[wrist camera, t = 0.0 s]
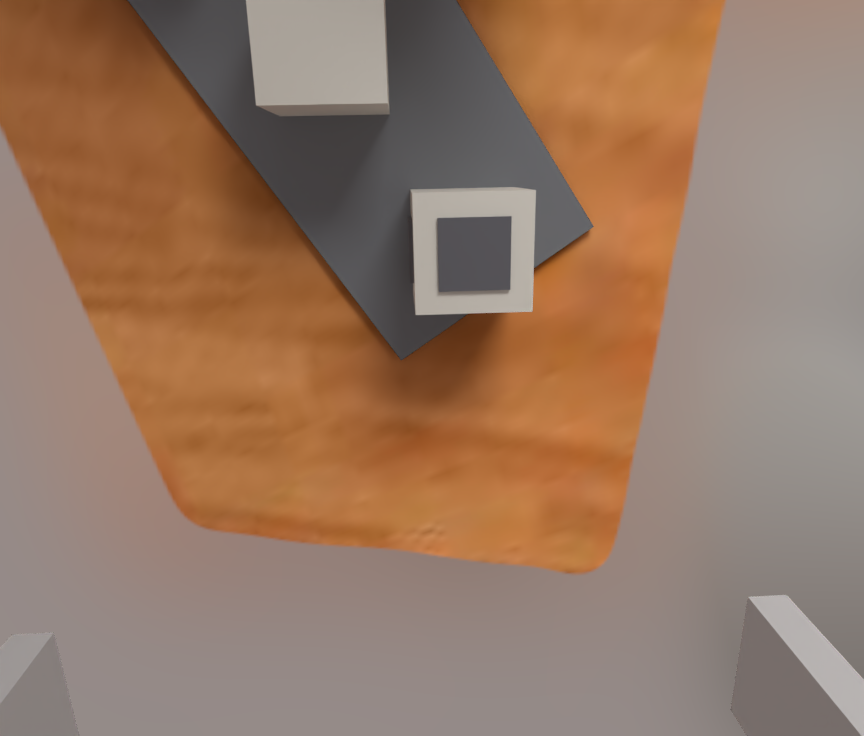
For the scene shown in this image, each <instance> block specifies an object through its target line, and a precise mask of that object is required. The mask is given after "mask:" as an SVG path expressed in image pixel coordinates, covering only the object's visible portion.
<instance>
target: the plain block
mask: <svg viewBox="0 0 864 736" xmlns="http://www.w3.org/2000/svg"><path fill="white" fill-rule="evenodd" d="M246 7H247V17H248V27H249V37H250V48H251V58H252V68H253V79H254V89H255V99H256V106H258V107H260V108H263V109H265V110H267V111H269V112H271V113H274V114H276V115H278V116H329V115H385V114H390V110H389V83H388V57H387V30H386V4H385V0H246Z"/></svg>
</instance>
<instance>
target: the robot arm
mask: <svg viewBox="0 0 864 736" xmlns="http://www.w3.org/2000/svg"><path fill="white" fill-rule="evenodd" d="M731 711H732V713H733V714H734V716H735V717H736V719H737V721H738V722H739V724H740V726H741V727H742V729H743V730H744V732H745V734H746V735H747V736H864V679H863V678H862V677H861V676H860V675H859V674H858V673H857V672H856V670H854V668H853V667H852V666H851V665H850V664H849V663H848V662H847V661H846V660H845V659H844V657H843V656H842V655H841V654H840V653H839V652H838V651H837V650H836V649H835V647H834V646H833V645H832V644H831V643H830V642H829V641H828V640H827V639H826V638H825V637H824V635H822V633H821V632H820V631H819V630H818V629H817V628H816V627H815V626H814V625H813V623H812V622H811V621H810V620H809V619H808V618H807V617H806V616H805V615H804V614H803V612H802V611H801V610H800V609H799V608H798V607H797V606H796V605H795V604H794V603H793V601H792V600H791V599H790V598H789V597H788V596H787V595H776V596H758V597H757V596H756V597H748V600H747V606H746V613H745V619H744V626H743V632H742V639H741V645H740V652H739V658H738V665H737V671H736V677H735V685H734V690H733V697H732V703H731ZM0 736H79V733H78V729H77V724H76V720H75V717H74V712H73V709H72V704H71V700H70V696H69V692H68V688H67V684H66V680H65V676H64V672H63V668H62V664H61V659H60V655H59V652H58V647H57V643H56V639H55V635H54V633H34V634H14V635H11V636H10V637H9V638H8V639H7V641H6V642H5V643H4V644H3V645H2V647H1V648H0Z"/></svg>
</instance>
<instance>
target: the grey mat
mask: <svg viewBox="0 0 864 736" xmlns="http://www.w3.org/2000/svg"><path fill="white" fill-rule="evenodd" d="M128 1H129V3H130V4H131V5H132V7H133V8H134V9H135V11H136V12H137V13H138V15H139V16H140V17H141V18H142V20H143V21H144V22H145V24H146V25H147V26H148V28H149V29H150V30H151V32H152V33H153V34H154V36H155V37H156V38H157V40H158V41H159V42H160V43H161V45H162V46H163V47H164V49H165V50H166V51H167V53H168V54H169V55H170V57H171V58H172V59H173V61H174V62H175V63H176V65H177V66H178V67H179V68H180V70H181V71H182V72H183V74H184V75H185V76H186V78H187V79H188V80H189V82H190V83H191V84H192V86H193V87H194V88H195V90H196V91H197V92H198V93H199V95H200V96H201V97H202V99H203V100H204V101H205V103H206V104H207V105H208V107H209V108H210V109H211V111H212V112H213V113H214V115H215V116H216V117H217V118H218V120H219V121H220V122H221V124H222V125H223V126H224V128H225V129H226V130H227V132H228V133H229V134H230V136H231V137H232V138H233V140H234V141H235V142H236V143H237V145H238V146H239V147H240V149H241V150H242V151H243V153H244V154H245V155H246V157H247V158H248V159H249V161H250V162H251V163H252V165H253V166H254V167H255V168H256V170H257V171H258V172H259V174H260V175H261V176H262V178H263V179H264V180H265V182H266V183H267V184H268V186H269V187H270V188H271V190H272V191H273V192H274V193H275V195H276V196H277V197H278V199H279V200H280V201H281V203H282V204H283V205H284V207H285V208H286V209H287V211H288V212H289V213H290V215H291V216H292V217H293V218H294V220H295V221H296V222H297V224H298V225H299V226H300V228H301V229H302V230H303V232H304V233H305V234H306V236H307V237H308V238H309V240H310V241H311V242H312V243H313V245H314V246H315V247H316V249H317V250H318V251H319V253H320V254H321V255H322V257H323V258H324V259H325V261H326V262H327V263H328V265H329V266H330V267H331V268H332V270H333V271H334V272H335V274H336V275H337V276H338V278H339V279H340V280H341V282H342V283H343V284H344V286H345V287H346V288H347V290H348V291H349V292H350V293H351V295H352V296H353V297H354V299H355V300H356V301H357V303H358V304H359V305H360V307H361V308H362V309H363V311H364V312H365V313H366V315H367V316H368V317H369V318H370V320H371V321H372V322H373V324H374V325H375V326H376V328H377V329H378V330H379V332H380V333H381V334H382V336H383V337H384V338H385V340H386V341H387V342H388V343H389V345H390V346H391V347H392V349H393V350H394V351H395V353H396V354H397V355H398V357H399V358H400V359H401V360H403V359H404V358H405V357H407V356H408V355H410V354H411V353H413V352H414V351H416V350H417V349H418V348H420V347H421V346H423V345H424V344H426V343H427V342H428V341H430V340H431V339H433V338H434V337H436V336H437V335H439V334H440V333H441V332H443V331H444V330H446V329H447V328H449V327H450V326H451V325H453V324H454V323H456V322H457V321H459V320H460V319H462V318H463V317H464V316H466V315H467V314H438V315H416V314H415V305H414V296H413V283H410V274H409V243H408V216H411V204H410V189H448V188H492V187H518V188H525V189H532V190H536V206H535V242H534V268H535V267H536V266H538V265H539V264H541V263H542V262H543V261H545V260H546V259H548V258H549V257H551V256H552V255H554V254H555V253H556V252H558V251H559V250H561V249H562V248H564V247H565V246H566V245H568V244H569V243H571V242H572V241H574V240H575V239H577V238H578V237H579V236H581V235H582V234H584V233H585V232H587V231H588V230H589V229H591V228H592V227H594V226H593V225H592V223H591V222H590V220H589V218H588V217H587V215H586V213H585V212H584V210H583V208H582V207H581V205H580V203H579V202H578V200H577V198H576V197H575V195H574V194H573V192H572V190H571V189H570V187H569V185H568V184H567V182H566V180H565V179H564V177H563V175H562V174H561V172H560V170H559V169H558V167H557V166H556V164H555V162H554V161H553V159H552V157H551V156H550V154H549V152H548V151H547V149H546V147H545V146H544V144H543V142H542V141H541V139H540V137H539V136H538V134H537V133H536V131H535V129H534V128H533V126H532V124H531V123H530V121H529V119H528V118H527V116H526V114H525V113H524V111H523V109H522V108H521V106H520V105H519V103H518V101H517V100H516V98H515V96H514V95H513V93H512V91H511V90H510V88H509V86H508V85H507V83H506V81H505V80H504V78H503V77H502V75H501V73H500V72H499V70H498V68H497V67H496V65H495V63H494V62H493V60H492V58H491V57H490V55H489V53H488V52H487V50H486V48H485V47H484V45H483V44H482V42H481V40H480V39H479V37H478V35H477V34H476V32H475V30H474V29H473V27H472V25H471V24H470V22H469V20H468V19H467V17H466V16H465V14H464V12H463V11H462V9H461V7H460V6H459V4H458V2H457V1H456V0H385V4H386V30H387V57H388V83H389V110H390V114H385V115H329V116H278V115H276V114H274V113H271V112H269V111H267V110H265V109H263V108H260V107H258V106H256V99H255V89H254V79H253V68H252V58H251V48H250V37H249V27H248V17H247V7H246V0H128Z"/></svg>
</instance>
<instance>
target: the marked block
mask: <svg viewBox="0 0 864 736" xmlns="http://www.w3.org/2000/svg"><path fill="white" fill-rule="evenodd" d="M410 204H411V216H408V243H409V274H410V283H413V296H414V305H415V314H416V315H438V314H470V313H502V312H533V277H534V242H535V206H536V190H532V189H525V188H518V187H492V188H448V189H410Z"/></svg>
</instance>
